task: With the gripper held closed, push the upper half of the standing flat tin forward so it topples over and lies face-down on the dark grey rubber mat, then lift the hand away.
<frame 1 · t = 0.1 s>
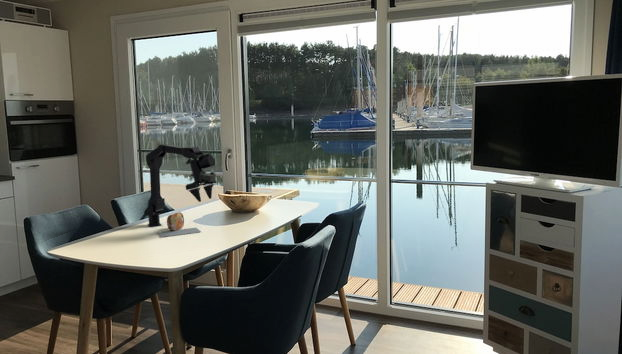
hand: (205, 200, 274), 15 cm above the table, tool pointing down, fingers open, 9 cm apart
mat: (179, 232, 271), on the table
tin: (176, 229, 278), on the table, touching mat
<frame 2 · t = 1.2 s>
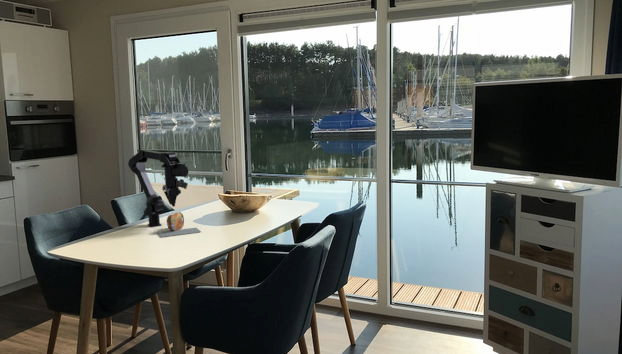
hand: (172, 205, 282), 12 cm above the table, tool pointing down, fingers open, 6 cm apart
nothing on the table moved.
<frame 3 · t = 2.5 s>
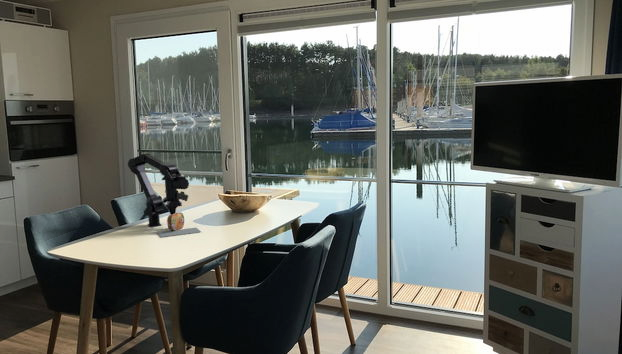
hand: (173, 217, 282), 5 cm above the table, tool pointing down, fingers closed
tin: (176, 229, 278), on the table, touching gripper, mat
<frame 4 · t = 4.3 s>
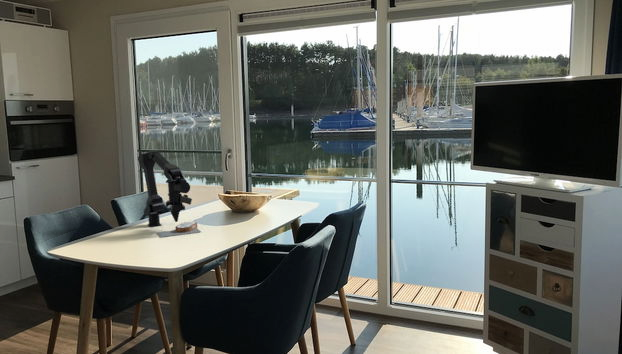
hand: (176, 221, 276), 5 cm above the table, tool pointing down, fingers closed
tin: (178, 226, 277), point 2 cm above the table, touching mat
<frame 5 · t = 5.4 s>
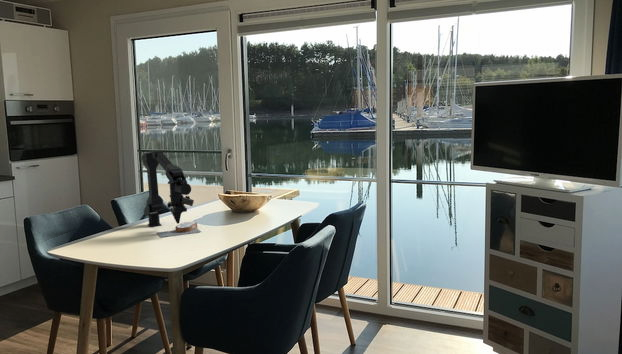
hand: (178, 223, 272), 5 cm above the table, tool pointing down, fingers closed
nothing on the table moved.
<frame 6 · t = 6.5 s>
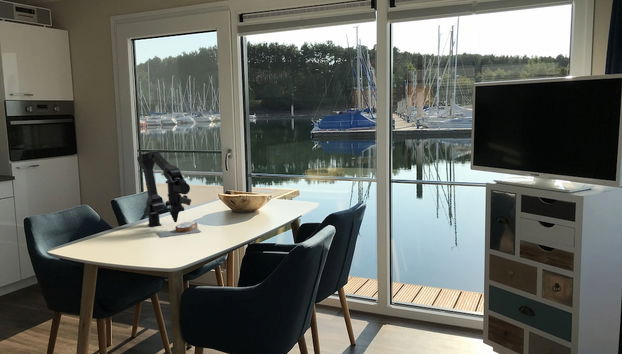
hand: (175, 222, 277), 4 cm above the table, tool pointing down, fingers closed
nothing on the table moved.
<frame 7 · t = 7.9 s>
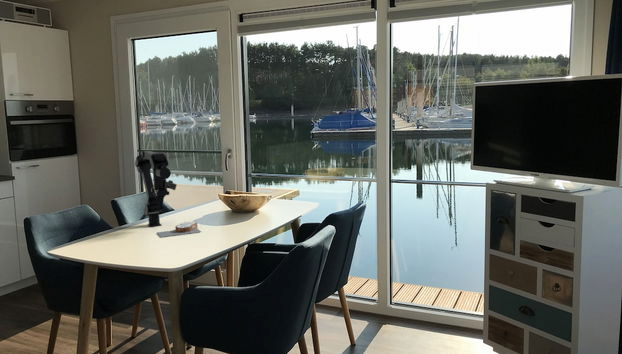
hand: (161, 206, 278), 12 cm above the table, tool pointing down, fingers closed
nothing on the table moved.
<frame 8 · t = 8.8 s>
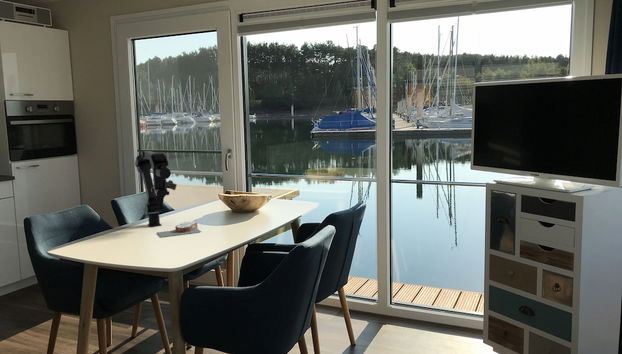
hand: (161, 206, 278), 12 cm above the table, tool pointing down, fingers closed
nothing on the table moved.
at the end: tin tilted 94°; tin touching mat; tin inside the target area (4.2 cm from its centre), point 2.0 cm above the table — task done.
